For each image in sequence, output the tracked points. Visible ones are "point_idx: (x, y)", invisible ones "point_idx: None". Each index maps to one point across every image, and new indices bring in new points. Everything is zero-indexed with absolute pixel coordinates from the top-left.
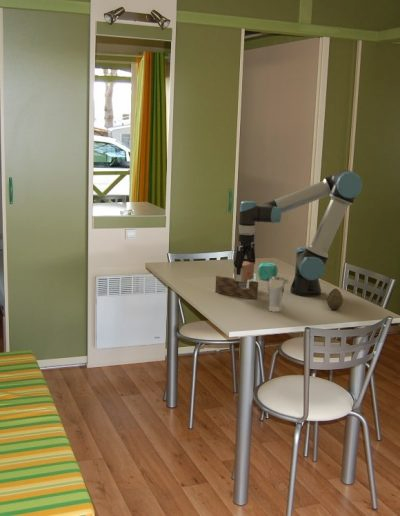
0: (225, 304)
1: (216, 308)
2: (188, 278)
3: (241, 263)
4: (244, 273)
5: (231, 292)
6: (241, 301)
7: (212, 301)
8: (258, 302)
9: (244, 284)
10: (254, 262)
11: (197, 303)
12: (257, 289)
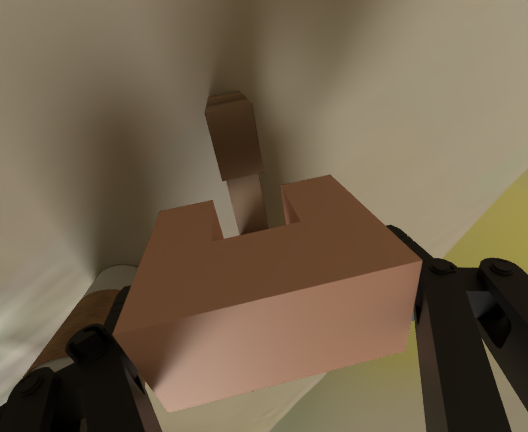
0: (435, 133)
1: (520, 113)
2: (203, 425)
3: (469, 306)
4: (361, 208)
5: None
6: (335, 116)
7: (416, 204)
8: (284, 20)
9: (120, 281)
10: (72, 353)
11: (473, 217)
12: (213, 102)
